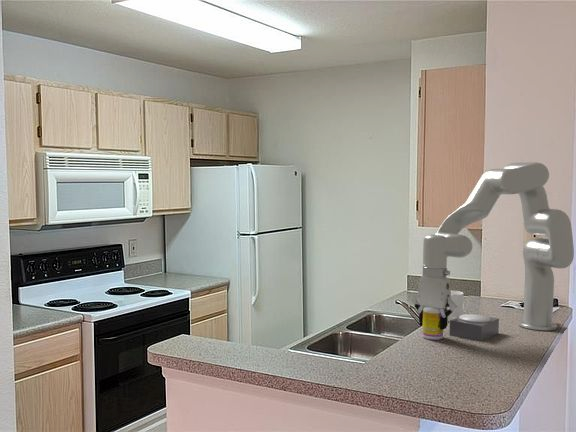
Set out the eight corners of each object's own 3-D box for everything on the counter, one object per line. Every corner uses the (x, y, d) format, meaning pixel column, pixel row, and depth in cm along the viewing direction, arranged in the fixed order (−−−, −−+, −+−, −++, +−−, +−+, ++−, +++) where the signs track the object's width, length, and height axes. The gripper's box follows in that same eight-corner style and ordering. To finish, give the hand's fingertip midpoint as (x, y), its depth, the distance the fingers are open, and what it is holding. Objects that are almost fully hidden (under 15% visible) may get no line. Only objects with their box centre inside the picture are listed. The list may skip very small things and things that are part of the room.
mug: (456, 315, 224) (457, 288, 223) (474, 319, 217) (475, 292, 216) (434, 318, 217) (435, 291, 217) (452, 323, 210) (452, 295, 210)
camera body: (467, 327, 205) (468, 311, 205) (498, 333, 198) (499, 316, 197) (449, 334, 195) (449, 317, 194) (481, 341, 187) (481, 323, 187)
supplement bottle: (439, 341, 186) (440, 301, 186) (419, 338, 190) (420, 299, 189) (445, 336, 192) (446, 298, 191) (426, 333, 196) (427, 296, 195)
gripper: (464, 274, 187) (462, 329, 188) (416, 268, 198) (415, 320, 199) (454, 277, 181) (452, 333, 182) (405, 270, 193) (403, 324, 194)
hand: (432, 326), depth 191 cm, fingers closed on supplement bottle, 6 cm apart
